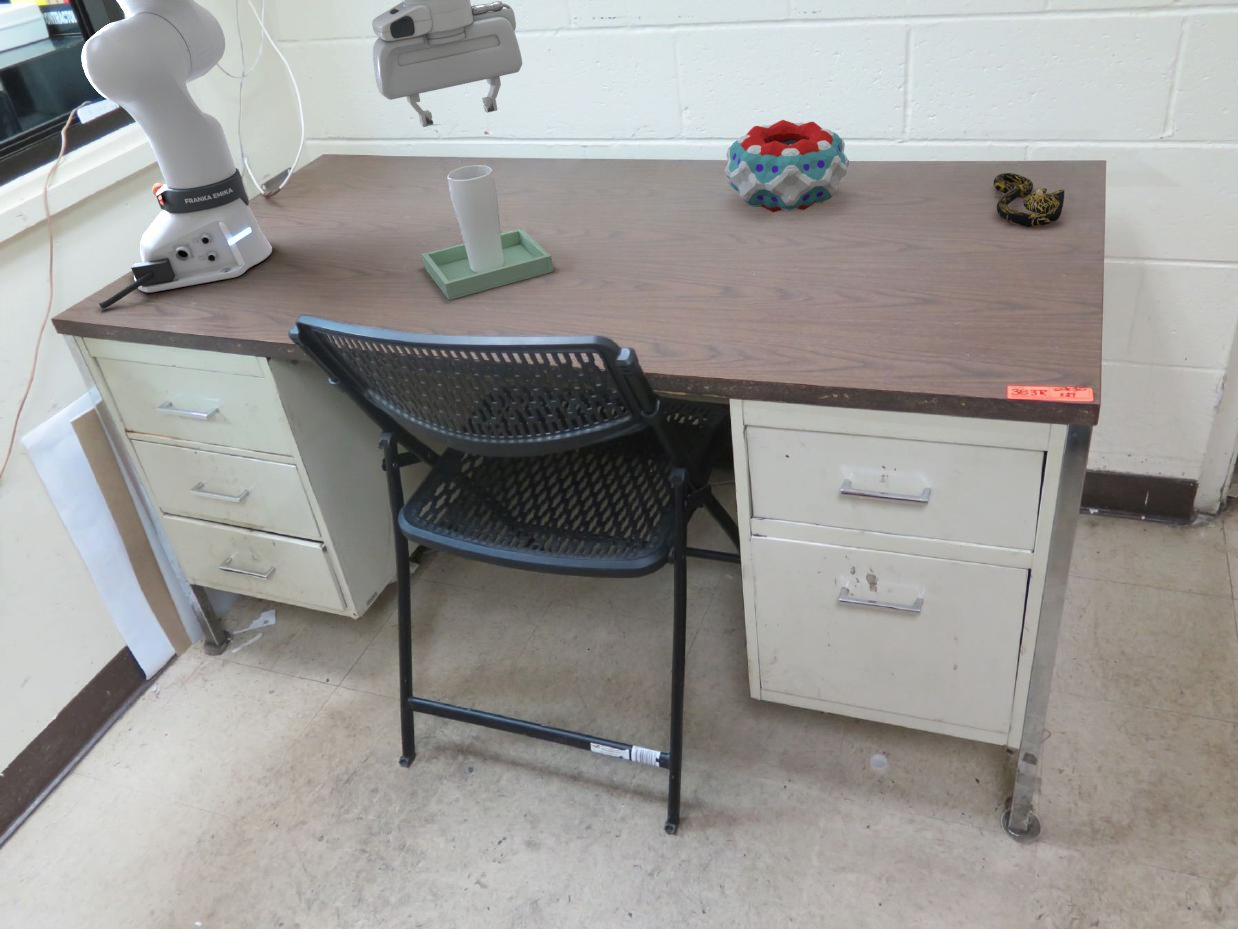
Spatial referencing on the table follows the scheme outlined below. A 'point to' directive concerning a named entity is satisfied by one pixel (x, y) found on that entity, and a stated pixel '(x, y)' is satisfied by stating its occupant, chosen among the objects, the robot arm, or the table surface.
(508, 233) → the tray
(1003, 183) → the rubber snake
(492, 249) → the drinking glass
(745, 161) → the decorative model
